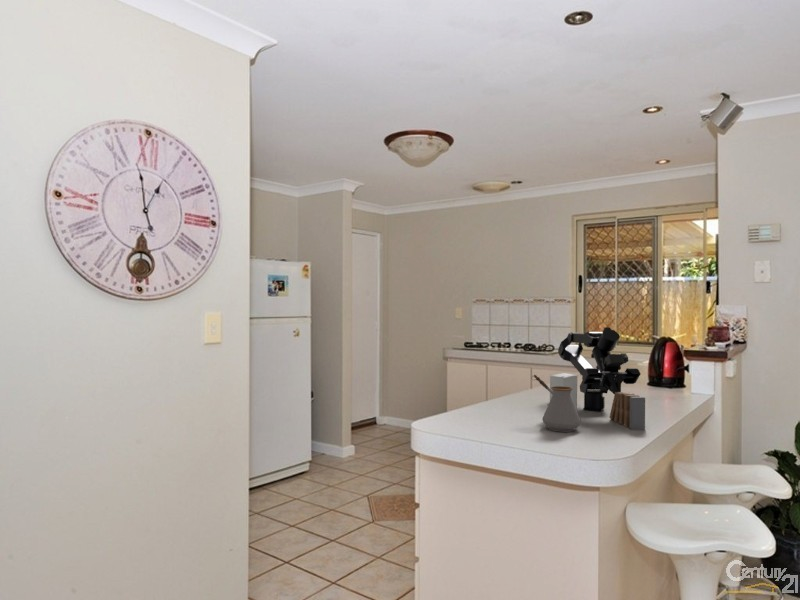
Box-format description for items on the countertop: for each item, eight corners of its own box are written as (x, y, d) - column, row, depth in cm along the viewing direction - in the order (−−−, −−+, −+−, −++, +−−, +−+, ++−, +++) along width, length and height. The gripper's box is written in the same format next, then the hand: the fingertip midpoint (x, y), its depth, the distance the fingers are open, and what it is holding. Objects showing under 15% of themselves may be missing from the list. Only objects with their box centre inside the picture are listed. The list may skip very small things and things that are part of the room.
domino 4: (624, 426, 173) (624, 394, 173) (636, 425, 173) (636, 394, 173) (626, 427, 171) (626, 395, 171) (639, 427, 172) (639, 395, 172)
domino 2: (614, 420, 180) (617, 392, 177) (626, 420, 180) (629, 392, 178) (616, 422, 178) (619, 394, 176) (628, 422, 178) (632, 394, 176)
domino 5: (629, 428, 169) (629, 396, 170) (642, 428, 170) (642, 396, 170) (632, 429, 168) (632, 397, 168) (645, 429, 168) (645, 397, 168)
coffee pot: (588, 432, 164) (589, 382, 164) (556, 434, 160) (557, 384, 160) (547, 417, 184) (548, 373, 184) (518, 419, 181) (518, 375, 181)
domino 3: (618, 423, 176) (619, 393, 176) (631, 423, 177) (632, 393, 176) (621, 424, 175) (622, 394, 174) (633, 424, 175) (634, 394, 174)
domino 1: (609, 417, 183) (615, 392, 179) (621, 417, 183) (627, 392, 179) (611, 420, 181) (617, 394, 178) (623, 420, 182) (629, 394, 178)
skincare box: (562, 414, 189) (563, 372, 189) (578, 417, 185) (578, 374, 185) (548, 417, 184) (548, 374, 184) (563, 421, 179) (564, 376, 179)
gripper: (585, 344, 185) (600, 381, 174) (637, 345, 187) (655, 381, 176) (576, 365, 193) (589, 401, 182) (626, 365, 194) (642, 401, 183)
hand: (619, 396), depth 180 cm, fingers closed
